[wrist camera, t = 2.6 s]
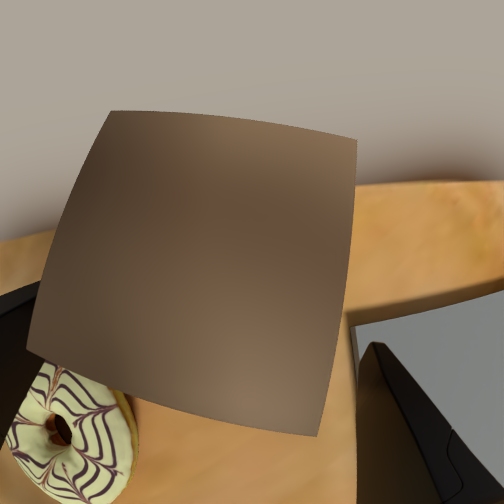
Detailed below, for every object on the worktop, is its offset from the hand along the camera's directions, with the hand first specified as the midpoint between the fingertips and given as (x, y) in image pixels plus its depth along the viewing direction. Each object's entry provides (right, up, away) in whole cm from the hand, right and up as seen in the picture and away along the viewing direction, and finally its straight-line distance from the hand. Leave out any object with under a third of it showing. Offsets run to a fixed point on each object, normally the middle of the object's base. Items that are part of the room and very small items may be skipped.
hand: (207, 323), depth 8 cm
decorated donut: (-10, -9, +7) cm, 16 cm away
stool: (0, -2, +9) cm, 9 cm away
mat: (+16, -9, +7) cm, 19 cm away
